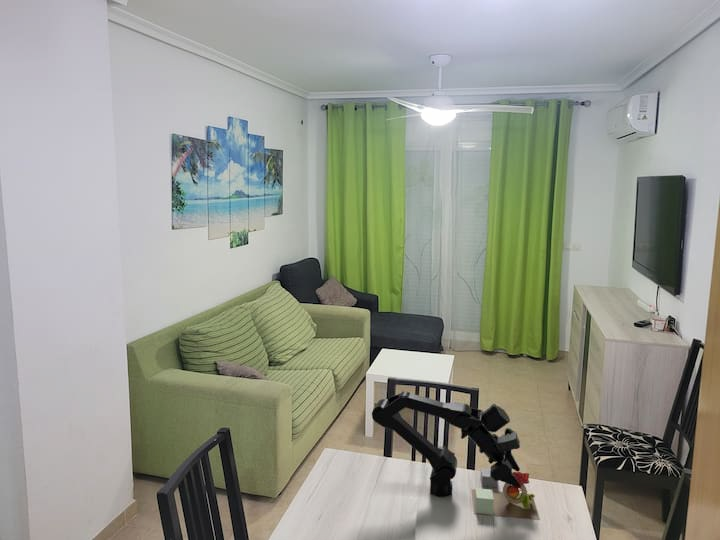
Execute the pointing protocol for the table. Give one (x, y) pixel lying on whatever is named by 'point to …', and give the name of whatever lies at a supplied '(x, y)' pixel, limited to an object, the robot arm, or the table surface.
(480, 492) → the sage block
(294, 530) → the table surface
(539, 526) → the table surface
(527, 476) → the bird rattle
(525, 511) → the walnut board
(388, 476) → the table surface
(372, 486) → the table surface
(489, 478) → the grey block
